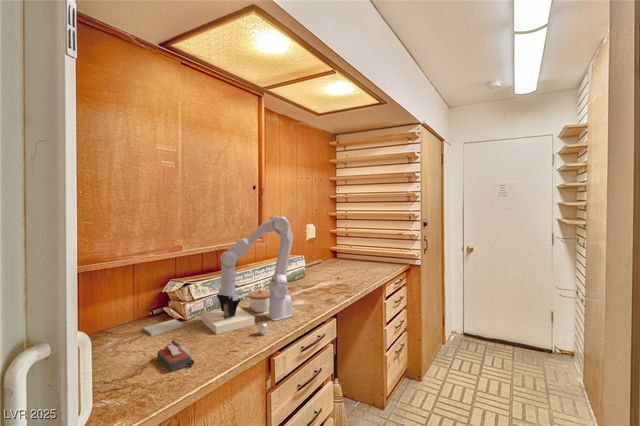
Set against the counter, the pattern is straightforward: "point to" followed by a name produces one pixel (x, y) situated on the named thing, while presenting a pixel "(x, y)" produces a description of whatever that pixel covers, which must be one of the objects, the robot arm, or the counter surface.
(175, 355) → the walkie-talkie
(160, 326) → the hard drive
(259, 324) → the short pin
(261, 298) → the lidded jar
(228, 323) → the hole block
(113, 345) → the counter surface
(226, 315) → the tall pin
